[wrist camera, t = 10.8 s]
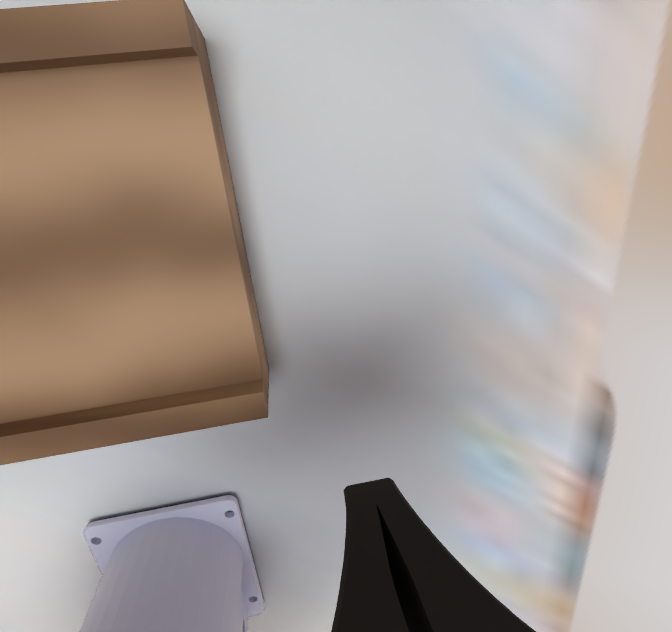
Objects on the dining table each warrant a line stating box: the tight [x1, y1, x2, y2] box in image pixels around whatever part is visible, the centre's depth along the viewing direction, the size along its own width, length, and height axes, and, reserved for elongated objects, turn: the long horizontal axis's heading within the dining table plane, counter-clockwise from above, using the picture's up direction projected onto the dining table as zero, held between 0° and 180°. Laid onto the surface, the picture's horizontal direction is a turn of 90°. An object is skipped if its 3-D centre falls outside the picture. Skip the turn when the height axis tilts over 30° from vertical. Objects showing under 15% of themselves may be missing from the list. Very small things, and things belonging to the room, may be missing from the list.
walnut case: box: [0, 0, 269, 465], centre depth 15 cm, size 14×16×4 cm
